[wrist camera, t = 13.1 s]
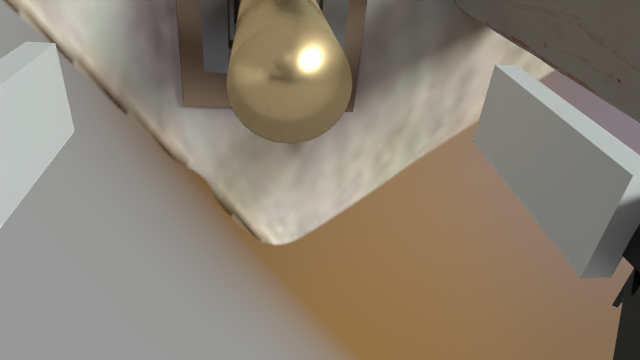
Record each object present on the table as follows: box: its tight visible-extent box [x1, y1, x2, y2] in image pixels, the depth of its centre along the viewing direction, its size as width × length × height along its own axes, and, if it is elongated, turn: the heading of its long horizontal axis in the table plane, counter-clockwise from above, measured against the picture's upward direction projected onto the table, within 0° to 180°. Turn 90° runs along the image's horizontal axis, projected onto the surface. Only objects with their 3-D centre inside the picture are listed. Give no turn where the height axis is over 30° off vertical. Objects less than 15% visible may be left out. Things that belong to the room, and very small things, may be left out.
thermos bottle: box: [454, 0, 640, 123], centre depth 24 cm, size 8×8×28 cm
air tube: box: [227, 0, 352, 143], centre depth 24 cm, size 4×4×22 cm
